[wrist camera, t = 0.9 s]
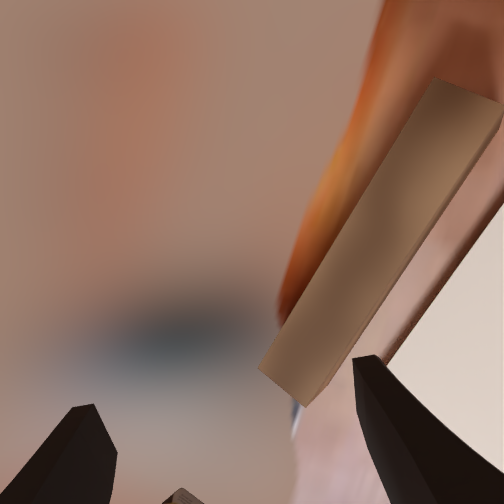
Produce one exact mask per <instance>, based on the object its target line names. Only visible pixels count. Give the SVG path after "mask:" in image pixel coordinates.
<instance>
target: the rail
mask: <svg viewBox="0 0 504 504" xmlns="http://www.w3.org/2000/svg"><path fill="white" fill-rule="evenodd" d="M503 114H504V105H503V104H501V103H498V102H496V101H493V100H491V99H488V98H486V97H483V96H481V95H478V94H476V93H473V92H471V91H468V90H466V89H463V88H461V87H458V86H456V85H453V84H451V83H448V82H446V81H443V80H441V79H438V78H436V77H434V78H433V80H432V81H431V83H430V85H429V86H428V88H427V89H426V91H425V93H424V94H423V96H422V98H421V99H420V101H419V103H418V104H417V106H416V108H415V109H414V111H413V113H412V114H411V116H410V117H409V119H408V121H407V122H406V124H405V126H404V127H403V129H402V131H401V132H400V134H399V136H398V137H397V139H396V141H395V142H394V144H393V146H392V147H391V149H390V150H389V152H388V154H387V155H386V157H385V159H384V160H383V162H382V164H381V165H380V167H379V169H378V170H377V172H376V174H375V175H374V177H373V178H372V180H371V182H370V183H369V185H368V187H367V188H366V190H365V192H364V193H363V195H362V197H361V198H360V200H359V202H358V203H357V205H356V207H355V208H354V210H353V211H352V213H351V215H350V216H349V218H348V220H347V221H346V223H345V225H344V226H343V228H342V230H341V231H340V233H339V235H338V236H337V238H336V239H335V241H334V243H333V244H332V246H331V248H330V249H329V251H328V253H327V254H326V256H325V258H324V259H323V261H322V263H321V264H320V266H319V268H318V269H317V271H316V272H315V274H314V276H313V277H312V279H311V281H310V282H309V284H308V286H307V287H306V289H305V291H304V292H303V294H302V296H301V297H300V299H299V300H298V302H297V304H296V305H295V307H294V309H293V310H292V312H291V314H290V315H289V317H288V319H287V320H286V322H285V324H284V325H283V327H282V329H281V330H280V332H279V334H278V335H277V337H276V339H275V340H274V342H273V343H272V345H271V347H270V348H269V350H268V352H267V353H266V355H265V357H264V358H263V360H262V362H261V363H260V365H259V367H258V369H259V370H261V371H262V372H263V373H264V374H265V375H266V376H268V377H269V378H270V379H271V380H272V381H274V382H275V383H276V384H277V385H278V386H280V387H281V388H282V389H283V390H285V391H286V392H287V393H288V394H289V395H290V396H292V397H293V398H294V399H295V400H296V401H298V402H299V403H300V404H301V405H302V406H304V407H305V408H306V407H307V406H308V405H309V404H310V403H311V402H312V401H313V400H314V399H315V398H316V397H317V396H318V395H319V394H320V393H321V392H322V391H323V390H324V388H325V387H326V386H327V385H328V384H329V382H330V381H331V379H332V378H333V376H334V375H335V373H336V372H337V370H338V369H339V367H340V366H341V364H342V363H343V362H344V360H345V359H346V357H347V356H348V354H349V353H350V351H351V350H352V348H353V347H354V345H355V344H356V342H357V341H358V339H359V338H360V336H361V335H362V333H363V332H364V330H365V329H366V327H367V326H368V324H369V323H370V321H371V320H372V318H373V317H374V315H375V314H376V312H377V311H378V309H379V308H380V306H381V305H382V303H383V302H384V300H385V299H386V297H387V296H388V294H389V293H390V291H391V290H392V288H393V287H394V285H395V284H396V282H397V281H398V279H399V278H400V276H401V275H402V273H403V272H404V270H405V269H406V267H407V266H408V264H409V263H410V261H411V260H412V258H413V257H414V255H415V254H416V252H417V251H418V249H419V248H420V246H421V245H422V243H423V242H424V240H425V239H426V237H427V236H428V234H429V233H430V231H431V230H432V228H433V227H434V225H435V224H436V223H437V221H438V220H439V218H440V217H441V215H442V214H443V212H444V211H445V209H446V208H447V206H448V205H449V203H450V202H451V200H452V199H453V197H454V196H455V194H456V193H457V191H458V190H459V188H460V187H461V185H462V184H463V182H464V181H465V179H466V178H467V176H468V175H469V173H470V172H471V170H472V169H473V167H474V166H475V164H476V163H477V161H478V160H479V158H480V157H481V155H482V154H483V152H484V151H485V149H486V148H487V146H488V145H489V143H490V142H491V140H492V139H493V137H494V136H495V134H496V133H497V131H498V130H499V127H500V124H501V121H502V117H503Z"/></svg>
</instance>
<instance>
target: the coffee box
mask: <svg viewBox="0 0 504 504" xmlns="http://www.w3.org/2000/svg"><path fill="white" fill-rule="evenodd" d="M162 504H204V503H202V502H201V501H200V500H198V499H197V498H196V497H195V496H193V495H192V494H190V493H189V492H188V491H186V490H185V489H184V488H180V489H178V490H177V491H176V492H175V493H174V494H173V495H171V496H170V497H169V498H168V499H167V500H165V501H164V502H163V503H162Z"/></svg>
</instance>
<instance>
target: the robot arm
mask: <svg viewBox="0 0 504 504" xmlns="http://www.w3.org/2000/svg"><path fill="white" fill-rule="evenodd" d="M352 362H353V374H354V386H355V398H356V411H357V415H358V418H359V421H360V425H361V428H362V431H363V435H364V438H365V441H366V444H367V447H368V450H369V453H370V455H371V457H372V460H373V462H374V465H375V467H376V469H377V472H378V474H379V477H380V479H381V481H382V484H383V486H384V488H385V491H386V493H387V496H388V498H389V500H390V503H391V504H504V473H503V472H502V471H500V470H499V469H498V468H496V467H495V466H494V465H492V464H491V463H490V462H488V461H487V460H486V459H485V458H483V457H482V456H481V455H480V454H478V453H477V452H476V451H475V450H473V449H472V448H471V447H470V446H469V445H467V444H466V443H465V442H464V441H463V440H461V439H460V438H459V437H458V436H457V435H456V434H455V433H453V432H452V431H451V430H450V429H449V428H448V427H447V426H445V425H444V424H443V423H442V422H441V421H440V420H439V419H438V418H437V417H436V416H435V415H433V414H432V413H431V412H430V411H429V410H428V409H427V408H426V407H425V406H424V405H423V404H422V403H421V402H420V401H419V400H418V399H417V398H416V397H415V396H414V395H413V394H412V393H411V392H410V391H409V390H408V389H407V388H406V387H405V386H404V385H403V384H402V383H401V382H400V381H399V380H398V379H397V378H396V376H395V375H394V374H393V373H392V372H391V371H390V370H389V369H388V368H387V366H386V365H385V364H384V363H383V362H382V361H381V359H380V358H379V357H377V356H376V355H369V356H364V357H358V358H352ZM117 453H118V452H117V450H116V448H115V446H114V444H113V442H112V440H111V438H110V436H109V434H108V432H107V430H106V428H105V426H104V424H103V422H102V420H101V418H100V415H99V414H98V412H97V409H96V407H95V405H94V404H89V405H83V406H77V407H72V408H71V410H70V411H69V412H68V413H67V414H66V415H65V417H64V418H63V419H62V420H61V422H60V423H59V424H58V425H57V426H56V428H55V429H54V430H53V431H52V433H51V434H50V435H49V436H48V438H47V439H46V440H45V441H44V443H43V444H42V445H41V446H40V447H39V449H38V450H37V451H36V452H35V454H34V455H33V456H32V457H31V459H30V460H29V461H28V462H27V463H26V464H25V466H24V467H23V468H22V469H21V471H20V472H19V473H18V474H17V475H16V477H15V478H14V479H13V480H12V482H11V483H10V484H9V485H8V486H7V487H6V488H5V489H4V490H3V492H2V493H1V494H0V504H109V502H110V498H111V495H112V490H113V483H114V477H115V469H116V461H117Z"/></svg>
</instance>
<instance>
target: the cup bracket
mask: <svg viewBox="0 0 504 504" xmlns="http://www.w3.org/2000/svg"><path fill="white" fill-rule="evenodd" d="M387 368H388V369H389V370H390V371H391V372H392V373H393V374H394V375H395V376H396V378H397V379H398V380H399V381H400V382H401V383H402V384H403V385H404V386H405V387H406V388H407V389H408V390H409V391H410V392H411V393H412V394H413V395H414V396H415V397H416V398H417V399H418V400H419V401H420V402H421V403H422V404H423V405H424V406H425V407H426V408H427V409H428V410H429V411H430V412H431V413H432V414H433V415H435V416H436V417H437V418H438V419H439V420H440V421H441V422H442V423H443V424H444V425H445V426H447V427H448V428H449V429H450V430H451V431H452V432H453V433H455V434H456V435H457V436H458V437H459V438H460V439H461V440H463V441H464V442H465V443H466V444H467V445H469V446H470V447H471V448H472V449H473V450H475V451H476V452H477V453H478V454H480V455H481V456H482V457H483V458H485V459H486V460H487V461H488V462H490V463H491V464H492V465H494V466H495V467H496V468H498V469H499V470H500V471H502V472H503V473H504V203H503V205H502V206H501V207H500V209H499V210H498V212H497V213H496V214H495V216H494V217H493V218H492V220H491V221H490V223H489V224H488V225H487V227H486V228H485V230H484V231H483V232H482V234H481V235H480V237H479V238H478V239H477V241H476V242H475V243H474V245H473V246H472V248H471V249H470V250H469V252H468V253H467V255H466V256H465V257H464V259H463V260H462V262H461V263H460V264H459V266H458V267H457V268H456V270H455V271H454V273H453V274H452V275H451V277H450V278H449V280H448V281H447V282H446V284H445V285H444V287H443V288H442V289H441V291H440V292H439V294H438V295H437V296H436V298H435V299H434V300H433V302H432V303H431V305H430V306H429V307H428V309H427V310H426V312H425V313H424V314H423V316H422V317H421V319H420V320H419V321H418V323H417V324H416V325H415V327H414V328H413V330H412V331H411V332H410V334H409V335H408V337H407V338H406V339H405V341H404V342H403V344H402V345H401V346H400V348H399V349H398V350H397V352H396V353H395V355H394V356H393V357H392V359H391V360H390V362H389V363H388V364H387Z"/></svg>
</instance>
